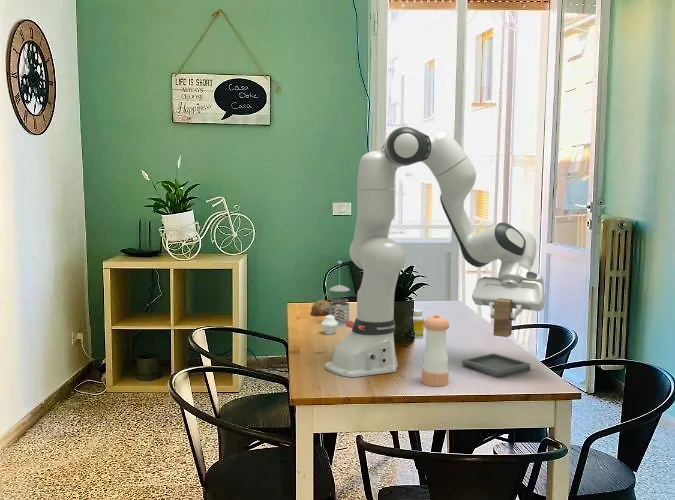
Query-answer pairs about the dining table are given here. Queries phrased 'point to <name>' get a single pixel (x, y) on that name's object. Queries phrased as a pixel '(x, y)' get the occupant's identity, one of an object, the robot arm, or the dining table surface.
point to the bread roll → (320, 308)
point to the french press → (339, 303)
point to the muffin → (329, 324)
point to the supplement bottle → (418, 323)
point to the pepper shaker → (435, 352)
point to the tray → (496, 365)
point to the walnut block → (502, 317)
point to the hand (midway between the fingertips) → (502, 318)
